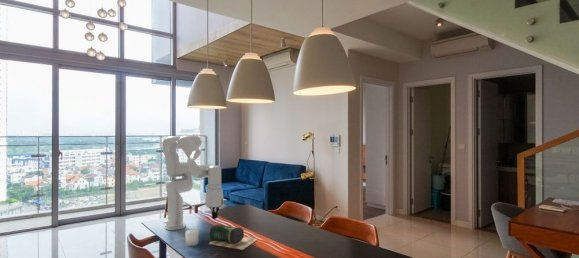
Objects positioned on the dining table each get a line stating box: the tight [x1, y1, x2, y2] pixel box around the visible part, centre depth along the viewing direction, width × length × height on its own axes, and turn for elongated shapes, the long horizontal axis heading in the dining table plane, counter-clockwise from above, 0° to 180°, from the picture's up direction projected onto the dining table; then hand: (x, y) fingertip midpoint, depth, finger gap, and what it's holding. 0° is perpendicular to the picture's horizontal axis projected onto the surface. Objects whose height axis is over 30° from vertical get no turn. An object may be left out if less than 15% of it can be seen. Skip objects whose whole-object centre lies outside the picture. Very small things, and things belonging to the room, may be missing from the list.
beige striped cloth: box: [208, 236, 258, 251], centre depth 175 cm, size 22×16×1 cm
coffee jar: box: [209, 224, 245, 243], centre depth 176 cm, size 10×8×19 cm
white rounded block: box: [184, 228, 199, 247], centre depth 173 cm, size 7×7×7 cm
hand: (214, 218), depth 181 cm, fingers closed
